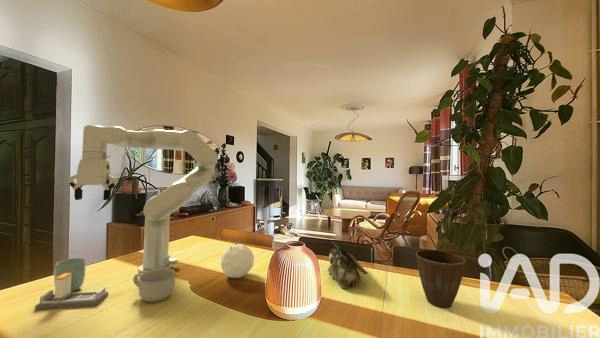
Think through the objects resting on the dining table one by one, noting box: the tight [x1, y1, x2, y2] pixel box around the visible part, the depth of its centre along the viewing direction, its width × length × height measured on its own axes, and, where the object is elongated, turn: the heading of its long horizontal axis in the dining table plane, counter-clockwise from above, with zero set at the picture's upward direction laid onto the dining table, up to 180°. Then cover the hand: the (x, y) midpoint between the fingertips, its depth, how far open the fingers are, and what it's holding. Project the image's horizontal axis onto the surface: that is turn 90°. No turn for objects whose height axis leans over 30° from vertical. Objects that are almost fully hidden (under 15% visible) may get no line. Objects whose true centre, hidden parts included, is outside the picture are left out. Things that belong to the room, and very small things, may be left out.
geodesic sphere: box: [220, 242, 255, 279], centre depth 104 cm, size 14×14×14 cm
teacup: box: [132, 268, 176, 303], centre depth 85 cm, size 14×11×8 cm
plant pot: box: [415, 249, 466, 309], centre depth 87 cm, size 15×15×16 cm
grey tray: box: [34, 287, 109, 311], centre depth 81 cm, size 16×7×3 cm, turn 102°
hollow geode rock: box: [327, 241, 368, 289], centre depth 108 cm, size 28×13×15 cm
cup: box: [53, 257, 87, 292], centre depth 88 cm, size 8×8×10 cm
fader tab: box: [53, 273, 72, 301], centre depth 80 cm, size 3×4×7 cm
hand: (92, 199), depth 100 cm, fingers open, 9 cm apart
